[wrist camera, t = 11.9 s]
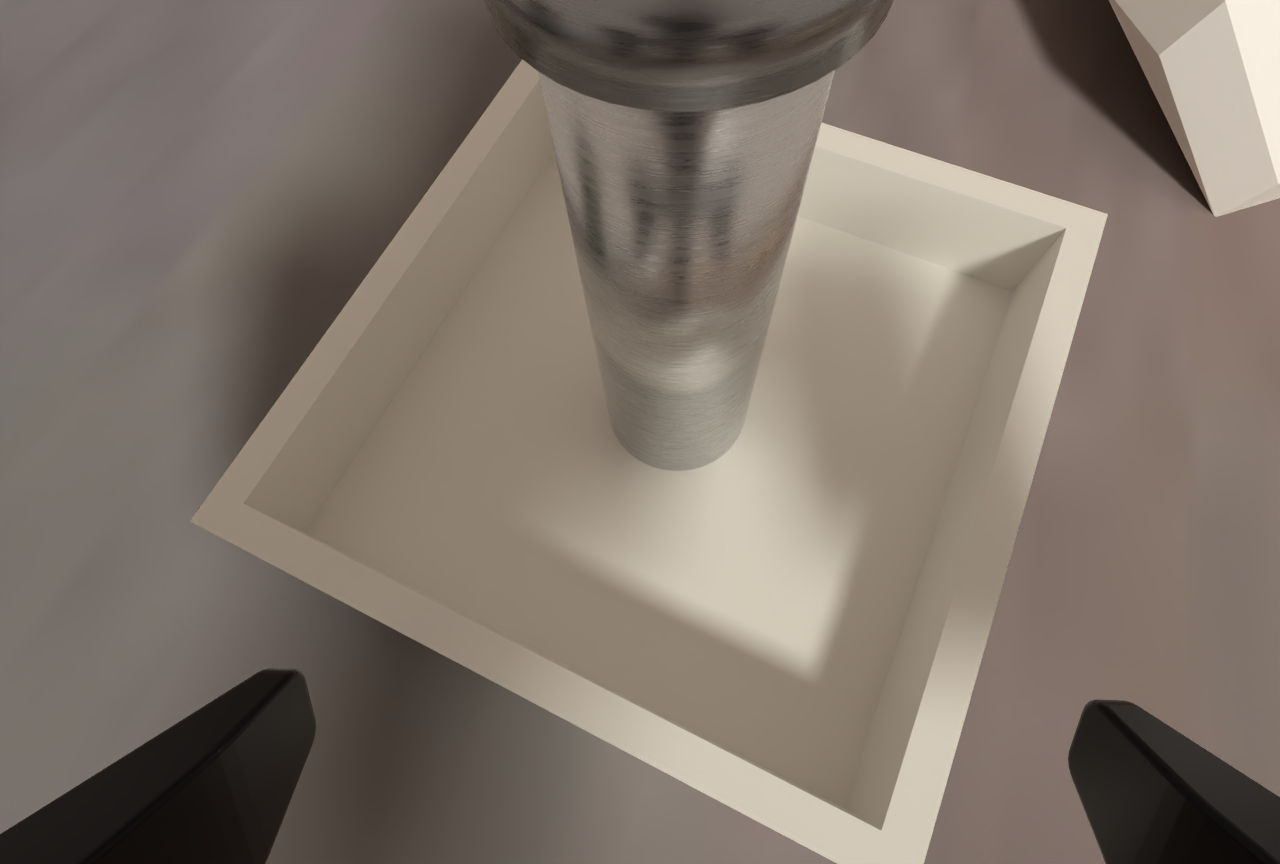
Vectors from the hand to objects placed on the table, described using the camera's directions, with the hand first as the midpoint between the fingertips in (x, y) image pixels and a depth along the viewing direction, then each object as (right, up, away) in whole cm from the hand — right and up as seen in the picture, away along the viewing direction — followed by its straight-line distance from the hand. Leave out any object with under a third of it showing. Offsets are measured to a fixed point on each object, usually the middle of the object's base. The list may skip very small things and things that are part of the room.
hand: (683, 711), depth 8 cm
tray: (+1, +4, +11) cm, 11 cm away
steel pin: (+1, +4, +10) cm, 11 cm away
